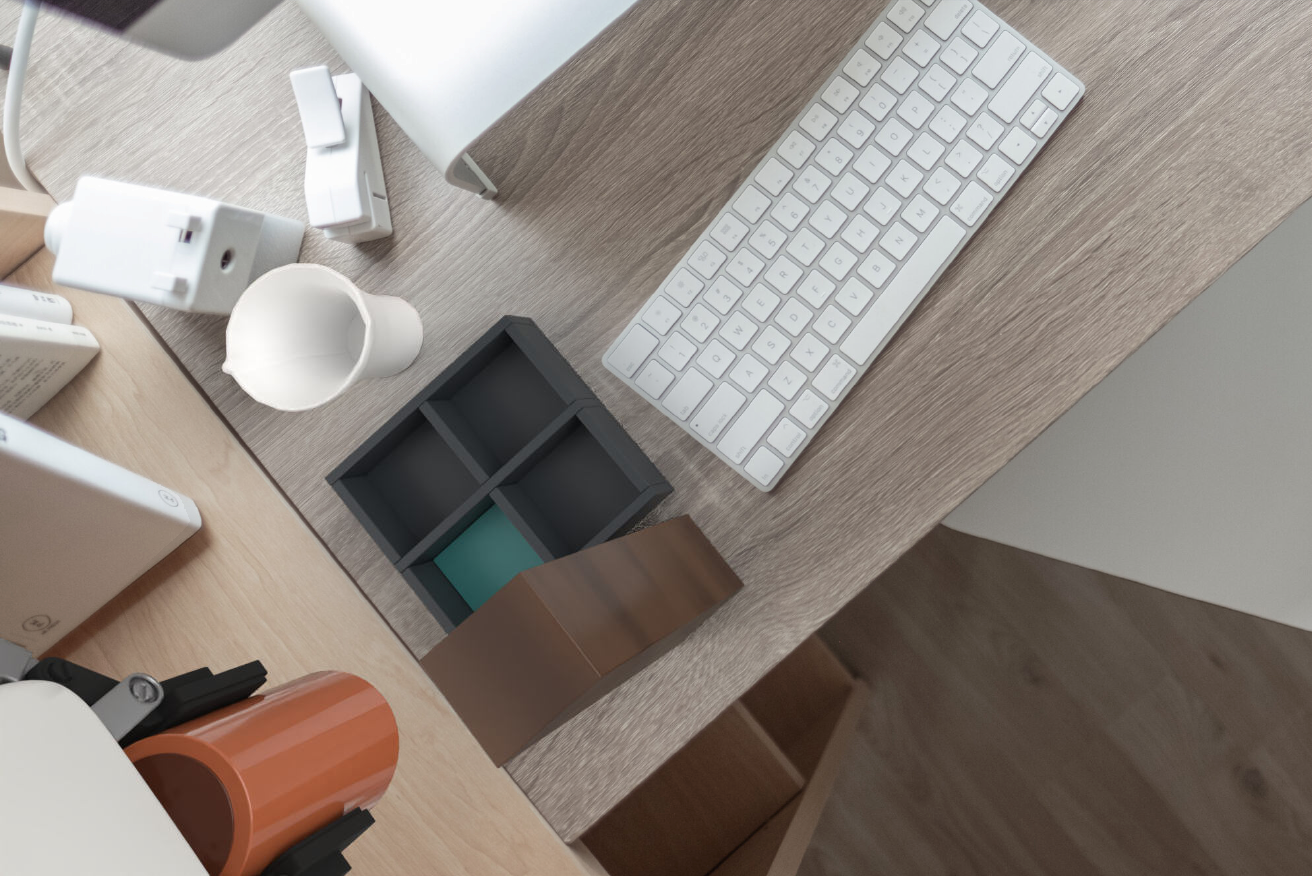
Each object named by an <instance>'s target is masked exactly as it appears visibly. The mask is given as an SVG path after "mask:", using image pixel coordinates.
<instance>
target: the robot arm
mask: <svg viewBox="0 0 1312 876" xmlns="http://www.w3.org/2000/svg"><path fill="white" fill-rule="evenodd" d="M32 656H33V651H30V650H29V649H26V648H24V647H22V646H20V645H18V644H15V643H14V642H11V641H9V640H7V639H6V638H3V637H1V636H0V876H210V875H209V874H208V872H207V871H206V869H205V868H204V866H203V865H202V863H201V862H200V860H199V859H198V857H197V856H196V854H195V853H194V852H193V850H192V849H191V847H190V846H189V844H188V843H187V841H186V840H185V838H184V837H183V836H182V834H181V833H180V831H179V830H178V828H177V827H176V825H175V824H174V822H173V821H172V820H171V818H170V817H169V815H168V814H167V812H166V811H165V809H164V808H163V806H162V805H161V804H160V802H159V801H158V799H157V798H156V797H155V795H154V794H153V792H152V791H151V789H150V788H149V787H148V785H147V784H146V782H145V781H144V779H143V778H142V777H141V775H140V774H139V772H138V771H137V770H136V768H135V767H134V765H133V764H132V762H131V761H130V760H129V758H128V757H127V755H126V754H125V753H124V751H123V749H124V748H126V747H127V746H129V745H131V744H133V743H135V742H136V741H139V740H141V739H144V738H146V737H149V736H151V735H154V734H157V733H159V732H162V731H164V730H167V729H169V728H172V727H174V726H177V725H180V724H182V723H185V722H187V721H190V720H192V719H195V718H197V717H200V716H203V715H205V714H208V713H210V712H213V711H215V710H218V709H220V708H223V707H226V706H228V705H231V704H233V703H236V702H238V701H241V700H243V699H246V698H249V697H251V696H253V695H254V693H255V692H256V691H257V690H259V689H260V688H261V687H263V685H264V684H266V683H267V682H268V679H267V677H266V676H267V675H268V673H269V671H268V670H267V669H266V667H265V666H264V665H263V663H262V662H261V660H260V659H256V660H252V661H250V662H247V663H245V664H241V665H238V666H236V667H233V668H230V669H227V670H224V671H221V672H219V673H216V674H214V673H213V672H212V670H211V669H210V668H209V666H203V667H200V668H196V669H194V670H191V671H188V672H185V673H182V674H179V675H175V676H173V677H170V678H167V679H164V680H161V681H158V680H157V679H156V678H155V677H153V676H152V675H150V674H147V673H145V672H139V671H138V672H133V673H130V674H129V675H127V676H126V677H125V678H124V679H122V680H121V681H120V680H117V679H114V678H112V677H109V676H107V675H105V674H102V673H100V672H97V671H95V670H93V669H89V668H87V667H84V666H82V665H80V664H77V663H75V662H72V661H70V660H67V659H64V658H62V657H58V656H47V657H44V658H42V659H41V660H39V659H37V658H35V657H32ZM376 822H377V820H376V819H375V817H374V816H373V815H372V813H371V812H370V810H369V811H368V809H367V808H366V809H364V810H363V811H362V810H361V809H360V807H357V808H355V809H354V810H352V811H350V812H349V813H347V814H345V815H344V816H342V817H340V818H339V819H337V820H335V821H334V822H332V823H331V824H329V825H327V826H326V827H324V828H322V829H321V830H319V831H317V832H316V833H314V834H312V835H311V836H309V837H308V838H306V839H304V840H303V841H301V842H299V843H298V844H296V845H294V846H293V847H291V848H290V849H288V850H287V851H286V852H285V853H283V854H282V855H281V856H280V857H279V858H277V859H276V860H275V861H274V862H273V863H272V864H271V865H270V866H268V867H267V868H266V869H265V870H264V871H263V872H262V873H260V875H259V876H346V875H347V874H348V873H349V872H350V871H351V870H352V869H353V867H352V866H351V864H350V863H349V862H348V860H347V859H346V857H345V856H344V854H343V852H344V851H345V850H346V849H347V848H348V847H349V846H350V845H352V844H353V843H354V842H355V841H356V840H357V839H358V838H360V837H361V835H363V834H364V833H365V832H366V831H367V830H368V829H369V828H371V827H372V826H373V825H374V824H375V823H376Z"/></svg>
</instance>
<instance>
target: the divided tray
mask: <svg viewBox="0 0 1312 876" xmlns="http://www.w3.org/2000/svg"><path fill="white" fill-rule="evenodd" d="M534 321H535V320H533V319H532V318H531V317H527V316H519V315H512V314H504V315H503V316H502V317H501V318H500V319H498V321H497V322H495V324H493V325H492V326H491V327H490V328H489V329H488V330H487V331H485V332H484V333H483V334H482V335H481V336H480V337H479V338H478V339H476V340H475V342H473V343H472V344H471V345H470V346H468V347H467V349H466V350H464V351H463V352H462V353H461V354H460V355H459V356H458V357H457V358H455V359H454V360H453V361H452V362H451V363H450V364H449V365H448V366H447V367H445V368H444V370H442V371H441V372H440V373H439V374H438V375H437V376H436V377H435V378H433V379H432V380H431V381H430V382H429V383H428V384H426V385H425V386H424V387H423V388H422V389H421V390H420V391H419V392H418V393H417V394H415V396H413V397H412V398H411V399H410V400H409V401H408V402H407V403H405V405H403V406H402V407H401V408H400V409H399V410H398V411H397V412H396V413H395V414H394V415H392V416H391V417H390V418H389V419H388V420H387V421H385V423H384V424H382V425H381V426H380V427H379V428H378V429H377V430H376V431H375V432H373V433H372V434H371V435H370V436H369V437H367V439H366V440H365V441H363V442H362V443H361V444H360V445H359V446H358V447H357V448H356V449H354V450H353V451H352V452H351V453H350V454H349V455H347V457H346V458H345V459H343V461H341V462H340V463H339V464H338V465H337V466H336V467H335V468H333V470H331V471H330V472H329V473H328V474H327V475H326V476H325V477H324V480H325V481H326V483H328V485H329V486H331V489H332V490H333V491H334V492H335V494H336V495H337V496H338V497H339V499H340V500H341V501H342V502H343V504H344V505H345V506H346V508H347V509H348V510H349V511H350V513H351V514H352V516H353V517H354V518H355V519H356V520H357V522H358V523H359V524H360V525H361V527H362V528H363V530H364V531H365V532H366V534H368V535H369V537H370V538H371V539H372V541H373V542H374V543H375V544H376V546H377V547H378V548H379V550H380V551H381V552H382V553H383V555H384V556H385V557H386V558H387V560H388V561H389V562H390V564H391V565H392V566H393V567H394V568H395V571H397V572H398V574H400V576H401V577H402V579H403V581H405V583H407V585H408V586H409V588H410V589H411V590H412V591H413V593H414V594H415V595H416V597H417V598H418V599H419V600H420V601H421V603H422V604H423V605H424V607H425V608H426V610H427V611H428V612H429V613H430V614H431V616H432V617H433V618H434V619H435V621H436V622H437V624H438V625H440V627H441V628H442V629H443V631H444V632H445V633H446V635H449V634H450V633H451V632H452V631H453V630H454V629H455V628H456V627H458V626H459V625H460V624H461V623H462V622H463V621H464V620H466V619H467V618H468V617H469V616H470V615H471V614H472V613H474V612H475V611H476V610H477V609H478V608H479V607H480V606H482V605H483V604H484V603H485V602H486V601H487V600H488V599H490V598H491V597H492V596H493V595H494V594H495V593H496V592H498V591H499V590H500V589H501V588H502V587H503V586H504V585H506V584H507V583H508V582H509V581H510V580H511V579H512V578H513V577H515V576H516V575H517V574H518V573H519V572H521V571H524V570H527V569H530V568H533V567H536V566H539V565H542V564H544V563H547V562H550V561H553V560H556V559H559V558H562V557H565V556H567V555H570V554H573V553H576V552H579V551H582V550H585V549H588V548H590V547H593V546H596V545H599V544H602V543H605V542H608V541H611V540H613V539H616V538H619V537H622V536H625V535H628V534H629V532H631V530H633V529H634V528H635V527H636V526H637V525H639V523H640V522H641V521H643V520H644V519H645V518H646V517H647V516H648V515H649V514H650V513H651V512H652V511H654V509H656V508H657V507H659V506H658V505H660V504H661V503H662V502H663V501H665V499H666V498H667V497H668V496H670V495H671V494H672V493H673V492H674V491H675V487H674V486H673V485H672V484H671V483H670V481H669V480H668V479H667V477H666V476H664V475H663V473H662V472H661V470H659V468H658V467H657V466H656V465H655V463H654V462H653V461H652V460H651V459H650V458H649V456H648V455H647V454H646V453H645V452H644V450H642V448H641V447H640V446H639V445H638V443H637V442H636V441H635V440H634V439H633V437H631V435H630V434H629V433H628V431H626V429H625V428H624V427H623V425H622V424H621V423H620V422H619V421H618V419H616V417H615V416H614V415H613V414H612V412H611V411H610V410H609V409H608V408H607V407H606V406H605V404H604V403H603V402H602V401H601V400H600V398H599V397H598V396H597V395H596V394H595V392H593V390H592V388H590V387H589V385H588V384H587V383H586V382H585V381H584V379H583V378H582V377H581V376H580V375H579V373H578V372H577V371H576V370H575V368H574V367H573V366H572V365H571V364H570V363H569V361H567V359H566V358H565V357H564V356H563V355H562V353H561V352H560V351H559V349H558V348H557V347H556V346H555V345H554V344H553V342H552V341H551V340H550V339H549V338H548V336H546V334H545V333H544V332H543V331H542V330H541V328H540V327H539V326H538V325H537V324H536V322H534Z"/></svg>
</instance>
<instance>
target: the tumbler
mask: <svg viewBox="0 0 1312 876" xmlns="http://www.w3.org/2000/svg"><path fill="white" fill-rule="evenodd" d="M123 751H124V753H125V754H126V755H127V757H128V758H129V760H130V761H131V762H132V764H133V765H134V767H135V768H136V770H137V771H138V772H139V774H140V775H141V777H142V778H143V779H144V781H145V782H146V784H147V785H148V787H149V788H150V789H151V791H152V792H153V794H154V795H155V797H156V798H157V799H158V801H159V802H160V804H161V805H162V806H163V808H164V809H165V811H166V812H167V814H168V815H169V817H170V818H171V820H172V821H173V822H174V824H175V825H176V827H177V828H178V830H179V831H180V833H181V834H182V836H183V837H184V838H185V840H186V841H187V843H188V844H189V846H190V847H191V849H192V850H193V852H194V853H195V854H196V856H197V857H198V859H199V860H200V862H201V863H202V865H203V866H204V868H205V869H206V871H207V872H208V874H209V875H210V876H259V875H260V873H262V872H263V871H264V870H265V869H266V868H267V867H268V866H270V865H271V864H272V863H273V862H274V861H275V860H276V859H277V858H279V857H280V856H281V855H282V854H283V853H285V852H286V851H287V850H288V849H290V848H291V847H293V846H294V845H296V844H298V843H299V842H301V841H303V840H304V839H306V838H308V837H309V836H311V835H312V834H314V833H316V832H317V831H319V830H321V829H322V828H324V827H326V826H327V825H329V824H331V823H332V822H334V821H335V820H337V819H339V818H340V817H342V816H344V815H345V814H347V813H349V812H350V811H352V810H354V809H355V808H357V807H360V809H361V810H362V811H363V810H364V809H366V808H367V809H368V811H369V812H370V811H371V810H372V809H373V808H374V807H375V806H377V804H378V802H380V800H381V799H382V798H383V797H384V795H385V793H386V792H387V790H388V789H389V787H390V784H391V782H392V781H393V778H394V775H395V772H396V770H397V767H398V761H399V753H400V734H399V728H398V723H397V720H396V716H395V715H394V711H393V709H392V707H391V706H390V704H389V702H388V701H387V699H386V698H385V696H384V695H383V693H382V692H380V691H379V690H378V688H376V687H375V686H374V685H373V684H372V683H370V682H369V681H367V680H366V679H364V678H362V677H361V676H358V675H355V674H353V673H350V672H347V671H341V670H329V669H328V670H319V671H314V672H311V673H307V674H305V675H302V676H300V677H297V678H294V679H292V680H290V681H287V682H284V683H281V684H279V685H277V686H273V687H272V688H268V689H266V690H264V691H262V692H259V693H257V694H253V695H251V696H250V697H248V698H246V699H243V700H241V701H238V702H236V703H233V704H231V705H228V706H226V707H223V708H220V709H218V710H215V711H213V712H210V713H208V714H205V715H203V716H200V717H197V718H195V719H192V720H190V721H187V722H185V723H182V724H180V725H177V726H174V727H172V728H169V729H167V730H164V731H162V732H159V733H157V734H154V735H151V736H149V737H146V738H144V739H141V740H139V741H136V742H135V743H133V744H131V745H129V746H127V747H126V748H124V749H123Z"/></svg>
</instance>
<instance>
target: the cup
mask: <svg viewBox="0 0 1312 876" xmlns="http://www.w3.org/2000/svg"><path fill="white" fill-rule="evenodd" d="M423 342H424V324H423V322H422V320H421V316H420V314H419V312H418V310H417V309H416V308H415V307H414V306H413V305H412V304H411V303H410V302H408V301H406V300H404V299H403V298H401V297H400V296H394V295H389V294H388V295H387V294H375V295H374V294H371V293H369V292H366V291H364V290H362V289H360V288H358V287H357V286H356V284H354V282H353V281H352V280H351V279H350V278H349V277H348V276H346V275H344V274H342V273H341V272H339V271H337V270H335V269H333V268H331V267H329V266H326V265H322V264H320V263H307V262H306V263H302V262H292V263H289V264H286V265H283V266H282V265H281V266H278V267H276V268H272V269H271V270H269V271H268V272H265V273H264V274H262V275H261V276H259V277H258V278H256V279H255V281H253V282H251V284H250V285H248V287H247V288H246V289H245V290H244V291H243V293H241V295H240V297H239V298H238V300H237V302H236V304H235V305H234V307H233V309H232V311H231V314H230V316H229V320H228V323H227V326H226V329H225V347H226V350H225V352H226V357H225V361H224V362H223V363H222V366H221V369H222V372H223V373H225V374H227V375H231V376H232V378H233V379H234V380H235V382H236V383H237V385H239V387H240V388H241V389H242V390H243V391H244V392H245V393H246V394H248V395H249V396H250V397H251V398H252V399H254V401H256V402H258V403H260V404H263V405H266V406H267V407H270V408H273V409H275V410H277V411H281V412H293V413H299V412H307V411H311V410H315V409H319V408H322V407H324V406H326V405H328V404H331V403H333V402H334V401H336V400H337V399H338V398H340V397H341V396H342V395H345V393H347V392H348V391H349V390H350V389H351V388H352V387H353V386H354V384H357V383H358V382H360V381H361V380H367V379H384V378H387V377H392V376H393V377H394V376H397V375H398V374H400V373H402V372H403V371H404V370H406V369H408V368H409V367H411V365H412V364H413V363H414V361H415V360H416V358H417V357H418V355H419V354H420V352H421V349H422V346H423Z"/></svg>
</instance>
